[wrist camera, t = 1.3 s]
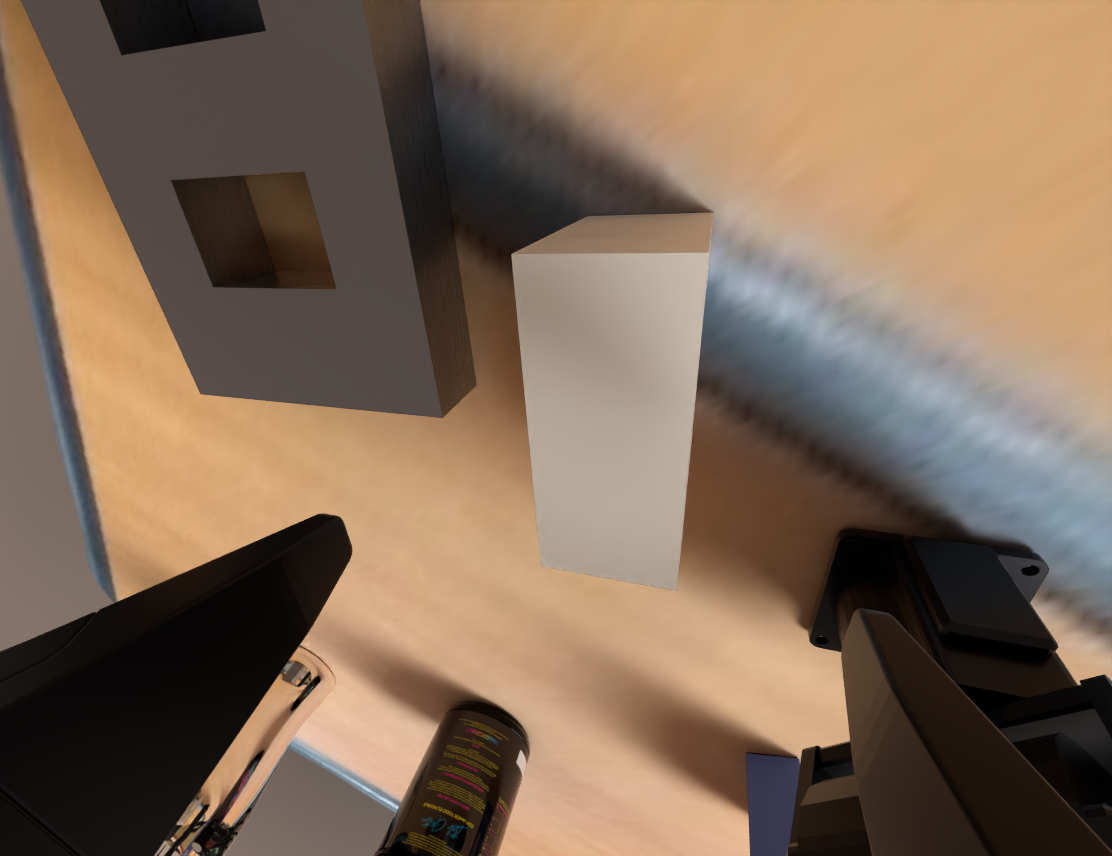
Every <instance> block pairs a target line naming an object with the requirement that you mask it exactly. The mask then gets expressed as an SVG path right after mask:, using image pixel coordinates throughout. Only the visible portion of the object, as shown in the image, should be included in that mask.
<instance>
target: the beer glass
mask: <svg viewBox="0 0 1112 856" xmlns="http://www.w3.org/2000/svg"><path fill="white" fill-rule="evenodd" d="M335 686H336V683H335V678H334V676H333V674H332V672H331V671H330V669H329V668H328V667H327V666H326V665H325V664H324V663H323V662H322V661H321V660H320V659H319V658H318V657H316V656H315V655H314V654H312V653H311V652H309V651H307V650H306V649H304V648H302V647H300V646H299V647H298V648H297V650H296V651H295V653H294V654H293V656H292V657H291V659H290V660H289V661H288V663H287V664H286V666H285V667H284V669H283V670H282V672H281V673H280V675H279V676H278V677H277V679H276V680H275V682H274V683H273V685H272V686H271V688H270V689H269V690H268V692H267V693H266V695H265V696H264V698H263V699H262V701H261V702H260V704H259V705H258V706H257V708H256V709H255V711H254V712H253V714H252V715H251V717H250V718H249V719H248V721H247V722H246V724H245V725H244V727H243V728H242V730H241V731H240V733H239V734H238V735H237V737H236V738H235V740H234V741H233V743H232V744H231V746H230V747H229V748H228V750H227V751H226V753H225V754H224V756H223V757H222V759H221V760H220V762H219V763H218V764H217V766H216V767H215V769H214V770H213V772H212V773H211V775H210V776H209V778H208V779H207V780H206V782H205V783H204V785H203V786H202V788H201V789H200V791H199V792H198V793H197V795H196V796H195V798H194V799H193V801H192V802H191V804H190V805H189V807H188V808H187V809H186V811H185V812H184V814H183V815H182V817H181V818H180V820H179V821H178V822H177V824H176V825H175V827H174V828H173V830H172V831H171V833H170V834H169V836H168V837H167V838H166V840H165V841H164V843H163V844H162V846H161V847H160V849H159V850H158V851H157V853H156V854H155V856H224V855H225V854H226V852H227V851H228V849H229V848H230V846H231V845H232V843H233V842H234V840H235V839H236V837H237V836H238V834H239V833H240V831H241V830H242V828H243V826H244V825H245V823H246V821H247V820H248V818H249V816H250V815H251V813H252V811H253V809H254V808H255V806H256V804H257V802H258V801H259V799H260V797H261V795H262V793H263V791H264V790H265V788H266V786H267V784H268V782H269V780H270V778H271V777H272V775H273V773H274V771H275V769H276V767H277V765H278V763H279V761H280V760H281V758H282V756H283V754H284V753H285V751H286V749H287V747H288V746H289V744H290V742H291V741H292V739H293V738H294V736H295V735H296V733H297V732H298V730H299V729H300V728H301V726H302V725H303V724H304V722H305V721H306V720H307V719H308V718H309V717H310V715H311V714H312V713H313V712H314V711H315V710H316V709H317V708H318V707H319V706H320V705H321V704H322V703H323V702H324V701H325V700H326V699H327V698H328V697H329V696H330V695H331V693H332V692H333V691H334V689H335Z"/></svg>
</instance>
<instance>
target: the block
mask: <svg viewBox="0 0 1112 856" xmlns="http://www.w3.org/2000/svg"><path fill="white" fill-rule="evenodd" d="M713 216H714V212H713V213H678V214H643V215H608V216H587V217H585V218H583V219H581V220H579V221H577V222H575V223H573V224H571V225H569V226H567V227H565V228H563V229H561V230H559V231H557V232H555V233H553V234H551V235H549V236H547V237H545V238H543V239H541V240H539V241H537V242H535V243H533V244H531V245H529V246H527V247H524V248H522V249H520V250H518V251H516V252H514V253H512V254H511V257H512V268H513V278H514V289H515V299H516V310H517V320H518V331H519V341H520V352H521V362H522V373H523V383H524V394H525V404H526V415H527V425H528V436H529V446H530V457H531V467H532V478H533V488H534V499H535V509H536V520H537V530H538V541H539V551H540V562H541V566H542V567H547V568H553V569H558V570H564V571H569V572H575V573H580V574H586V575H591V576H597V577H602V578H608V579H613V580H619V581H624V582H630V583H635V584H641V585H646V586H652V587H657V588H663V589H668V590H674V591H677V584H678V575H679V565H680V555H681V545H682V535H683V525H684V515H685V505H686V495H687V486H688V476H689V466H690V456H691V445H692V435H693V424H694V414H695V413H694V410H695V400H696V389H697V379H698V368H699V358H700V347H701V337H702V327H703V316H704V306H705V297H706V288H707V279H708V268H709V258H710V247H711V237H712V227H713Z"/></svg>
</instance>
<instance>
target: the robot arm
mask: <svg viewBox="0 0 1112 856" xmlns="http://www.w3.org/2000/svg"><path fill="white" fill-rule="evenodd" d="M850 540H856V541H857V542H855V543H847V542H848V541H850ZM351 556H352V545H351V542H350V539H349V536H348V533H347V530H346V527H345V524H344V522H343V520H342V519H341V518H340V517H339V516H335V515H329V514H318V515H315V516H313V517H310V518H308V519H306V520H304V521H301V522H299V523H297V524H294V525H292V526H290V527H288V528H285V529H283V530H281V531H278V532H276V533H274V534H272V535H269V536H267V537H265V538H262V539H260V540H258V541H255V542H253V543H251V544H249V545H246V546H244V547H242V548H239V549H237V550H235V551H233V552H230V553H228V554H226V555H223V556H221V557H219V558H217V559H214V560H212V561H210V562H207V563H205V564H203V565H201V566H198V567H196V568H194V569H191V570H189V571H187V572H185V573H182V574H180V575H178V576H175V577H173V578H171V579H169V580H166V581H164V582H162V583H159V584H157V585H155V586H152V587H150V588H148V589H146V590H143V591H141V592H139V593H136V594H134V595H132V596H130V597H127V598H125V599H123V600H120V601H118V602H116V603H114V604H111V605H109V606H107V607H104V608H102V609H100V610H99V611H98V612H93V613H90V614H88V615H86V616H84V617H81V618H79V619H77V620H74V621H72V622H70V623H68V624H65V625H63V626H61V627H58V628H56V629H53V630H51V631H49V632H46V633H44V634H42V635H39V636H37V637H35V638H32V639H30V640H28V641H25V642H23V643H20V644H18V645H15V646H13V647H10V648H8V649H6V650H3V651H0V856H155V854H156V853H157V851H158V850H159V849H160V847H161V846H162V844H163V843H164V841H165V840H166V838H167V837H168V836H169V834H170V833H171V831H172V830H173V828H174V827H175V825H176V824H177V822H178V821H179V820H180V818H181V817H182V815H183V814H184V812H185V811H186V809H187V808H188V807H189V805H190V804H191V802H192V801H193V799H194V798H195V796H196V795H197V793H198V792H199V791H200V789H201V788H202V786H203V785H204V783H205V782H206V780H207V779H208V778H209V776H210V775H211V773H212V772H213V770H214V769H215V767H216V766H217V764H218V763H219V762H220V760H221V759H222V757H223V756H224V754H225V753H226V751H227V750H228V748H229V747H230V746H231V744H232V743H233V741H234V740H235V738H236V737H237V735H238V734H239V733H240V731H241V730H242V728H243V727H244V725H245V724H246V722H247V721H248V719H249V718H250V717H251V715H252V714H253V712H254V711H255V709H256V708H257V706H258V705H259V704H260V702H261V701H262V699H263V698H264V696H265V695H266V693H267V692H268V690H269V689H270V688H271V686H272V685H273V683H274V682H275V680H276V679H277V677H278V676H279V675H280V673H281V672H282V670H283V669H284V667H285V666H286V664H287V663H288V661H289V660H290V659H291V657H292V656H293V654H294V653H295V651H296V650H297V648H298V647H299V646H300V644H301V643H302V641H303V640H304V638H305V637H306V635H307V634H308V632H309V631H310V629H311V627H312V626H313V624H314V622H315V621H316V619H317V617H318V616H319V614H320V612H321V610H322V608H323V607H324V605H325V603H326V601H327V600H328V598H329V596H330V594H331V593H332V591H333V589H334V587H335V586H336V584H337V582H338V580H339V578H340V577H341V575H342V573H343V571H344V570H345V568H346V566H347V564H348V563H349V561H350V559H351ZM1028 565H1031V566H1030V567H1027V568H1023V567H1025V566H1028ZM1048 571H1049V568H1048V565H1047V564H1046V563H1045V561H1044V560H1043V559H1042V558H1041V556H1039V555H1038V554H1036V553H1032V552H1027V551H1019V550H1012V549H1004V548H997V547H989V546H983V545H976V544H968V543H961V542H953V541H946V540H938V539H931V538H923V537H916V536H907V535H899V534H892V533H885V532H877V531H870V530H862V529H855V528H848V529H844V530H842V531H840V532H839V533H838V535H837V536H836V539H835V543H834V546H833V549H832V553H831V556H830V559H829V563H828V566H827V569H826V573H825V576H824V579H823V583H822V586H821V589H820V593H819V596H818V599H817V603H816V606H815V609H814V613H813V616H812V619H811V623H810V626H809V629H808V634H809V640H810V642H811V644H813V645H814V646H816V647H819V648H823V649H828V650H833V651H839V652H842V653H841V659H842V669H843V678H844V687H845V697H846V706H847V715H848V724H849V733H850V741H848V742H844V743H840V744H836V745H832V746H828V747H823V748H821V747H819V746H814V747H810V748H806V749H803V750H802V756H801V763H800V770H799V778H798V785H797V792H796V799H795V807H794V814H793V821H792V829H791V836H790V843H789V846H788V850H787V855H786V856H1112V681H1111V680H1110V679H1109V678H1108V677H1107V676H1106V675H1100V676H1096V677H1092V678H1088V679H1084V680H1080V683H1081V685H1078V684H1077V683H1076V681H1075V680H1074V678H1073V677H1072V675H1071V674H1070V672H1069V671H1068V669H1067V668H1066V666H1065V665H1064V663H1063V662H1062V660H1061V659H1060V657H1059V656H1058V654H1057V653H1056V650H1057V648H1058V645H1057V642H1056V641H1055V639H1054V638H1053V636H1052V635H1051V633H1050V632H1049V631H1048V629H1047V628H1046V626H1045V625H1044V623H1043V622H1042V620H1041V619H1040V617H1039V616H1038V614H1037V613H1036V611H1035V610H1034V608H1033V607H1032V605H1031V604H1030V602H1031V600H1032V599H1033V597H1034V595H1035V594H1036V592H1037V590H1038V589H1039V587H1040V585H1041V584H1042V582H1043V581H1044V579H1045V577H1046V576H1047V574H1048ZM819 636H823V637H819Z"/></svg>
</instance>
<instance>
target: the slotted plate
mask: <svg viewBox="0 0 1112 856" xmlns="http://www.w3.org/2000/svg"><path fill="white" fill-rule="evenodd" d="M21 1H22V4H23V6H24V8H25V10H26V12H27V15H28V17H29V19H30V21H31V23H32V26H33V28H34V30H35V32H36V34H37V37H38V39H39V41H40V43H41V45H42V47H43V50H44V52H45V54H46V56H47V58H48V61H49V63H50V65H51V67H52V69H53V72H54V74H55V76H56V78H57V80H58V83H59V85H60V87H61V89H62V91H63V94H64V96H65V98H66V100H67V102H68V105H69V107H70V109H71V111H72V113H73V115H74V118H75V120H76V122H77V124H78V126H79V129H80V131H81V133H82V135H83V137H84V140H85V142H86V144H87V146H88V148H89V151H90V153H91V155H92V157H93V159H94V162H95V164H96V166H97V168H98V170H99V172H100V175H101V177H102V179H103V181H104V183H105V186H106V188H107V190H108V192H109V194H110V197H111V199H112V201H113V203H114V205H115V208H116V210H117V212H118V214H119V216H120V219H121V221H122V223H123V225H124V227H125V230H126V232H127V234H128V236H129V238H130V240H131V243H132V245H133V247H134V249H135V251H136V254H137V256H138V258H139V260H140V262H141V265H142V267H143V269H144V271H145V273H146V276H147V278H148V280H149V282H150V284H151V287H152V289H153V291H154V293H155V295H156V297H157V300H158V302H159V304H160V306H161V308H162V311H163V313H164V315H165V317H166V319H167V322H168V324H169V326H170V328H171V330H172V333H173V335H174V337H175V339H176V341H177V344H178V346H179V348H180V350H181V352H182V355H183V357H184V359H185V361H186V363H187V365H188V368H189V370H190V372H191V374H192V376H193V379H194V381H195V383H196V385H197V387H198V390H199V392H200V394H204V395H214V396H224V397H234V398H245V399H255V400H265V401H275V402H285V403H296V404H306V405H316V406H326V407H336V408H347V409H357V410H367V411H377V412H387V413H397V414H408V415H418V416H428V417H438V418H443V417H444V416H445V415H446V414H447V413H448V412H449V411H450V410H451V409H452V408H453V407H454V406H455V405H456V404H458V403H459V402H460V401H461V400H462V399H463V398H464V397H465V396H466V395H467V394H468V393H469V392H470V391H471V390H472V389H473V388H474V387H475V386H476V379H475V372H474V365H473V359H472V352H471V345H470V338H469V332H468V325H467V318H466V311H465V304H464V298H463V291H462V284H461V277H460V270H459V264H458V257H457V250H456V243H455V237H454V230H453V223H452V216H451V209H450V203H449V196H448V189H447V182H446V176H445V169H444V162H443V155H442V148H441V142H440V135H439V128H438V121H437V115H436V108H435V101H434V94H433V87H432V81H431V74H430V67H429V60H428V53H427V47H426V40H425V33H424V26H423V20H422V13H421V6H420V0H258V3H259V7H260V10H261V14H262V18H263V21H264V25H265V29H266V31H263V32H257V33H251V34H245V35H239V36H234V37H228V38H222V39H216V40H210V41H204V42H199V40H198V37H197V34H196V31H195V28H194V25H193V21H192V18H191V15H190V12H189V9H188V6H187V3H186V0H21ZM298 172H305V175H306V179H307V183H308V186H309V190H310V194H311V197H312V201H313V205H314V208H315V212H316V216H317V219H318V223H319V227H320V230H321V234H322V238H323V241H324V245H325V249H326V252H327V256H328V260H329V263H330V267H331V271H274V268H273V265H272V262H271V259H270V256H269V253H268V250H267V247H266V244H265V241H264V238H263V234H262V231H261V228H260V225H259V222H258V219H257V216H256V213H255V210H254V207H253V204H252V201H251V198H250V195H249V192H248V189H247V186H246V183H245V180H244V177H243V176H252V175H268V174H283V173H298Z"/></svg>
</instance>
